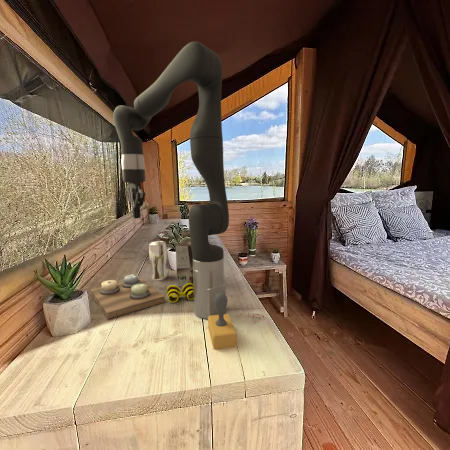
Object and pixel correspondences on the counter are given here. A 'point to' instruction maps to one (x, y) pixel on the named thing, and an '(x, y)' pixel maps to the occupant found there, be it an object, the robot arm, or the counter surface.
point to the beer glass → (158, 259)
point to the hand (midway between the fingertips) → (136, 218)
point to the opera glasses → (175, 290)
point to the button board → (125, 299)
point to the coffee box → (184, 263)
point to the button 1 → (109, 285)
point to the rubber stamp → (221, 325)
